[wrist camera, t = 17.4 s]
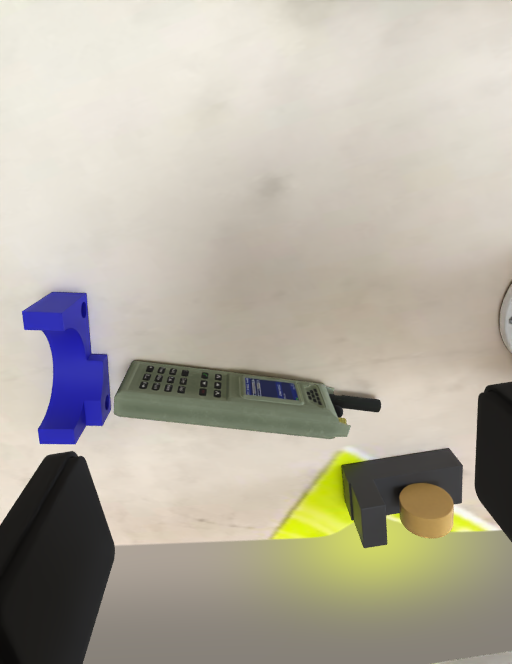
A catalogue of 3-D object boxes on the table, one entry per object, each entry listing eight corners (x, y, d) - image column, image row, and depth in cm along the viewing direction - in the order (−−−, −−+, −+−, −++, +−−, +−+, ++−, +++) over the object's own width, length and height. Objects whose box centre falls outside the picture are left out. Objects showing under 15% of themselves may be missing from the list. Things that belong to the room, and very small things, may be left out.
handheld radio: (132, 354, 41) (380, 384, 44) (130, 384, 42) (371, 412, 45) (114, 388, 35) (404, 421, 38) (112, 422, 36) (393, 452, 39)
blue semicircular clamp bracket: (110, 409, 43) (93, 444, 37) (64, 408, 43) (39, 443, 37) (103, 293, 39) (81, 313, 33) (52, 291, 39) (22, 311, 33)
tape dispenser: (448, 447, 47) (490, 499, 40) (448, 484, 49) (488, 540, 41) (341, 464, 47) (362, 519, 40) (344, 500, 49) (365, 560, 41)
